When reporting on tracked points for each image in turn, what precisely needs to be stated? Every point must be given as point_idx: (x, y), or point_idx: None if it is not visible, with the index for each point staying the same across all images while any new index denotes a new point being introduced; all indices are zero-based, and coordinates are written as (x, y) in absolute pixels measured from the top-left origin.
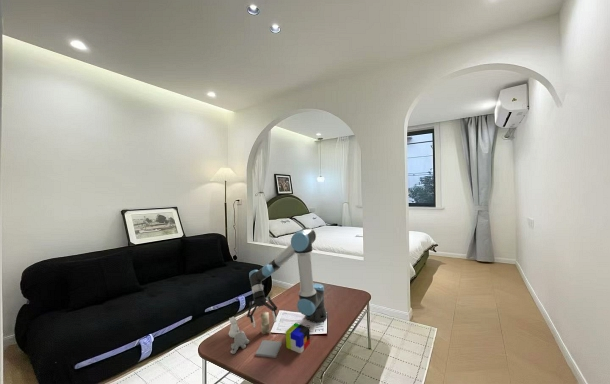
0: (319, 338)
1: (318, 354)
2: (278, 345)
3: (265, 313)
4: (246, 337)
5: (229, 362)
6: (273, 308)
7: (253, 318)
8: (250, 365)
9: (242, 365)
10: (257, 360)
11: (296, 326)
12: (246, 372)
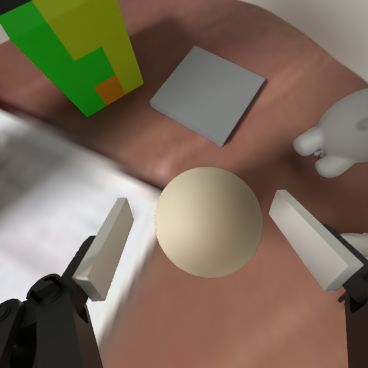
0: (12, 83)
1: None
2: (169, 87)
3: (197, 220)
4: (332, 115)
5: (357, 87)
6: (46, 318)
7: (330, 239)
8: (281, 52)
9: (308, 60)
10: (256, 63)
11: (29, 6)
12: (294, 32)
